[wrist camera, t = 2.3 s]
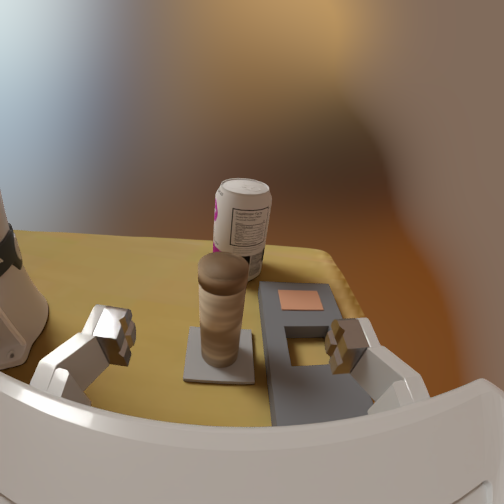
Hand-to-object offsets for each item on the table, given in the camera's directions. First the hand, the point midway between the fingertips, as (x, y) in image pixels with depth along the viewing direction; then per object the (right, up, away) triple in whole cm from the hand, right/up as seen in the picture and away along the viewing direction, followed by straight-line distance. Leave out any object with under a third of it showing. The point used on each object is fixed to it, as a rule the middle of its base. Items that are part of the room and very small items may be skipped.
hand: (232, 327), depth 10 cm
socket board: (+8, -10, +22) cm, 26 cm away
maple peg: (-3, -9, +21) cm, 23 cm away
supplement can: (-2, 0, +36) cm, 36 cm away
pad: (-3, -10, +21) cm, 23 cm away
